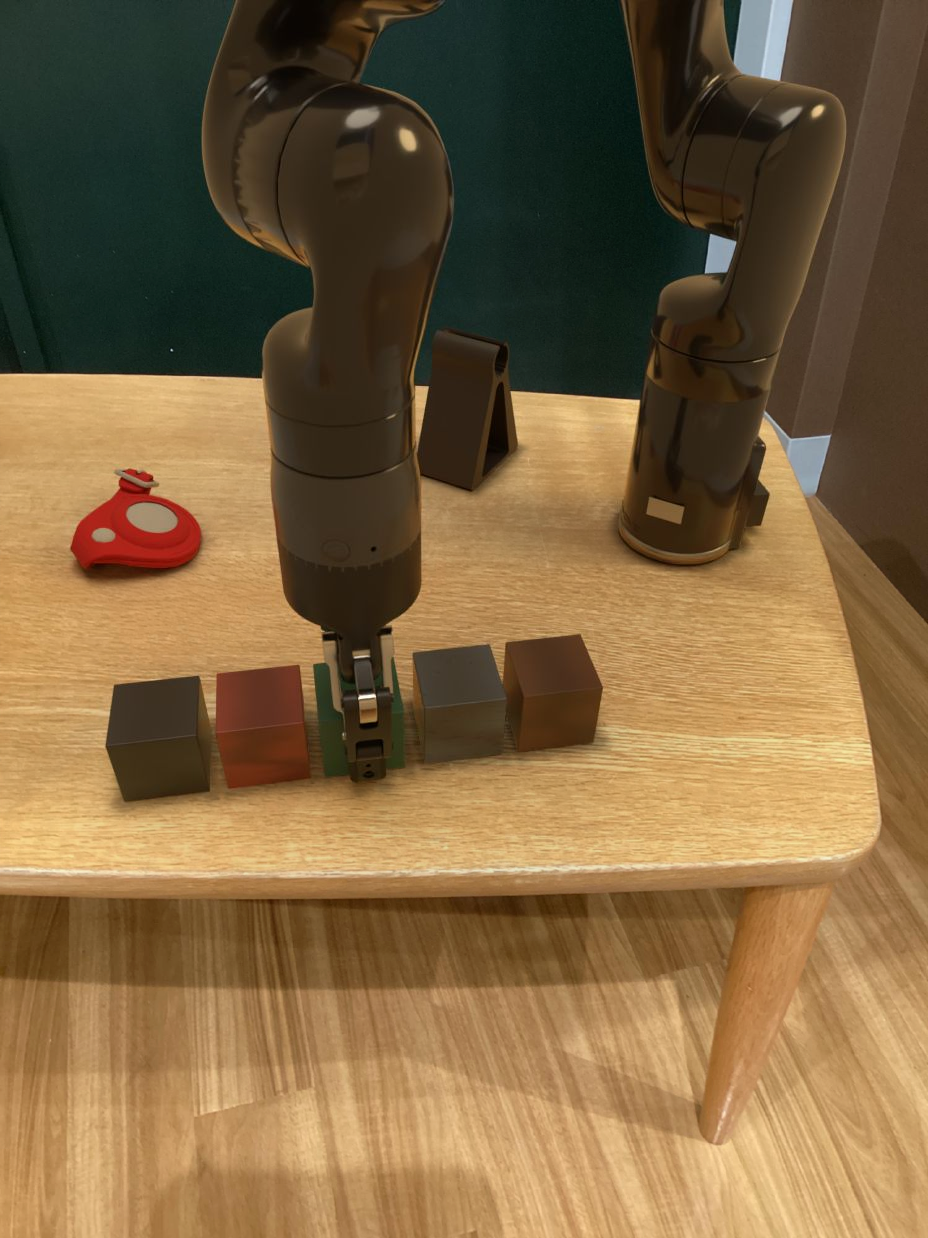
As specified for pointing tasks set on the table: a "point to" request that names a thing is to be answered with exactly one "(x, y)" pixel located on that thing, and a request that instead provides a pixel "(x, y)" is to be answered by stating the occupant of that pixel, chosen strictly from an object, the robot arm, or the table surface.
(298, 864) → the table surface
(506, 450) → the phone stand
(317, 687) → the green block
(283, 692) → the block line
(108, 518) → the tracker holder
